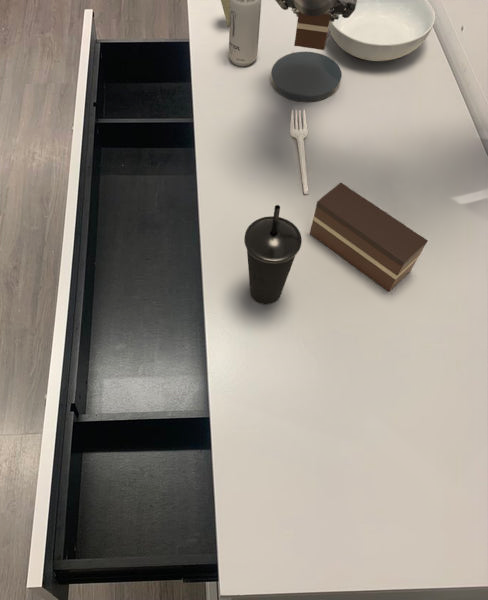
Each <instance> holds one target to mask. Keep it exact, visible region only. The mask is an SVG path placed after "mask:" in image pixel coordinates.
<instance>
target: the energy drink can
mask: <svg viewBox="0 0 488 600" xmlns="http://www.w3.org/2000/svg"><path fill="white" fill-rule="evenodd" d="M261 10H262V0H230V23H229V27H228V28H229V30H228V31H229V32H228V58H229V60H230V61H231V63H232V64H234V65H236V66H238V67H247V66H250V65H252V64H253V63H254V62H255V61H256V60H257V58H258V55H259V54H258V52H259V40H260V39H259V38H260V23H261V13H262V12H261Z"/></svg>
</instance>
